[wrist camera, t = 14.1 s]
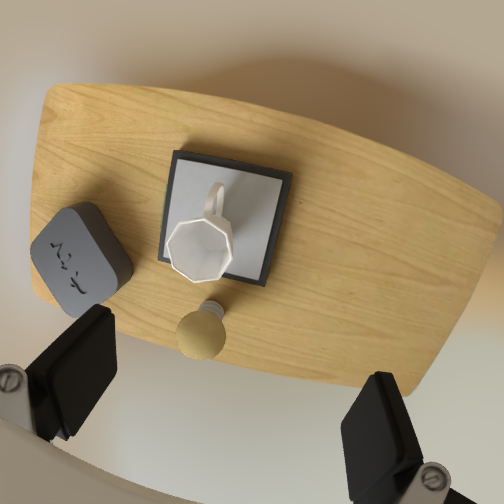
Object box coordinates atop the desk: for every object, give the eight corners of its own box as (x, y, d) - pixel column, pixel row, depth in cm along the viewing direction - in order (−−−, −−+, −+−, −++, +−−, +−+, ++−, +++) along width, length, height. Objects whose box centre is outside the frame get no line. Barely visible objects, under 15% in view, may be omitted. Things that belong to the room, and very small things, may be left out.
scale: (176, 149, 37) (169, 149, 34) (292, 173, 36) (292, 174, 34) (161, 255, 42) (154, 261, 39) (265, 281, 41) (264, 289, 39)
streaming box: (140, 272, 43) (125, 286, 38) (87, 308, 46) (72, 322, 42) (90, 193, 40) (70, 199, 35) (44, 241, 43) (25, 250, 38)
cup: (185, 251, 38) (162, 274, 31) (197, 174, 35) (175, 180, 27) (237, 263, 38) (226, 291, 30) (254, 186, 35) (246, 194, 27)
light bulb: (189, 289, 43) (165, 325, 33) (232, 290, 42) (218, 328, 33) (194, 326, 45) (174, 366, 35) (234, 328, 44) (223, 371, 35)
